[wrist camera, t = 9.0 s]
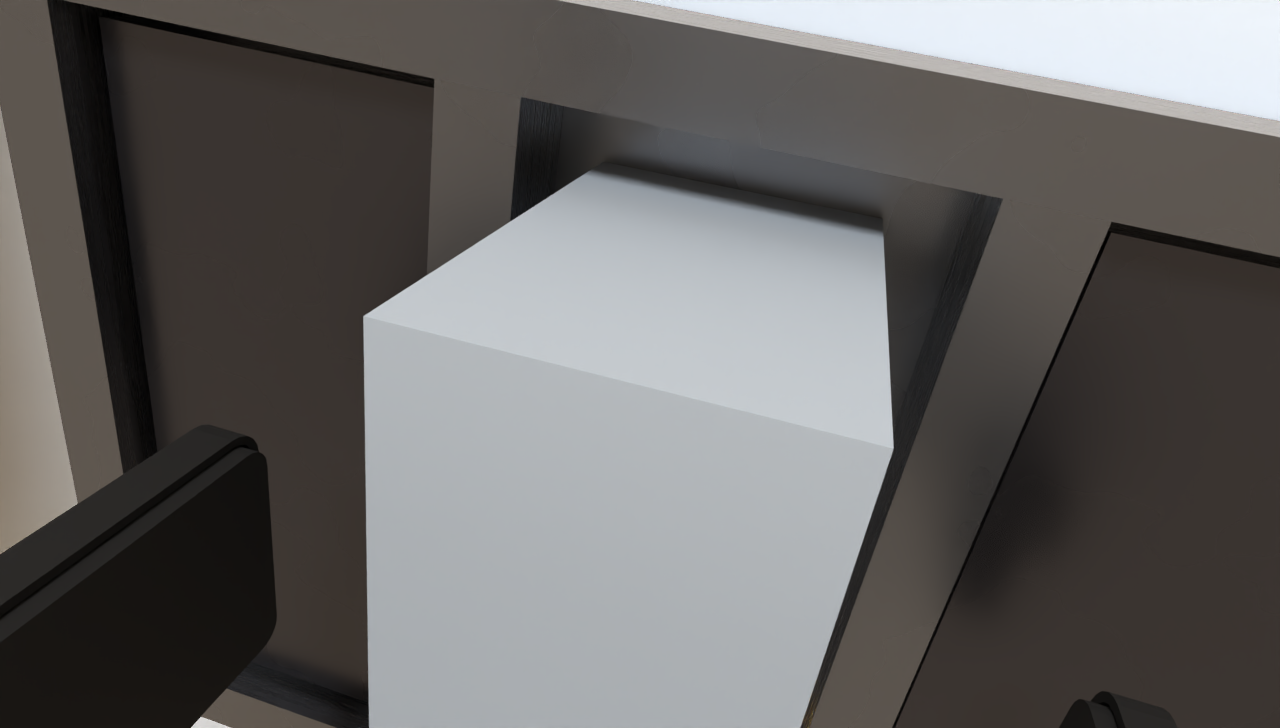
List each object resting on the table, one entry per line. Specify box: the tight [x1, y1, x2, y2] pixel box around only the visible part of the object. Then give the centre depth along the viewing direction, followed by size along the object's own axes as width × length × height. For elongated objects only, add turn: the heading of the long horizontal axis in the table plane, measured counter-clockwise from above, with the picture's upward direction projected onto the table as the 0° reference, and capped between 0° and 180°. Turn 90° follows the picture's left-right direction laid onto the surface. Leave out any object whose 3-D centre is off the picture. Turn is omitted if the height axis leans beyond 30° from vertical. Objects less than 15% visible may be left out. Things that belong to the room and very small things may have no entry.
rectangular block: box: [363, 162, 894, 728], centre depth 10 cm, size 10×4×6 cm, turn 172°
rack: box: [0, 0, 1280, 728], centre depth 11 cm, size 13×19×3 cm
